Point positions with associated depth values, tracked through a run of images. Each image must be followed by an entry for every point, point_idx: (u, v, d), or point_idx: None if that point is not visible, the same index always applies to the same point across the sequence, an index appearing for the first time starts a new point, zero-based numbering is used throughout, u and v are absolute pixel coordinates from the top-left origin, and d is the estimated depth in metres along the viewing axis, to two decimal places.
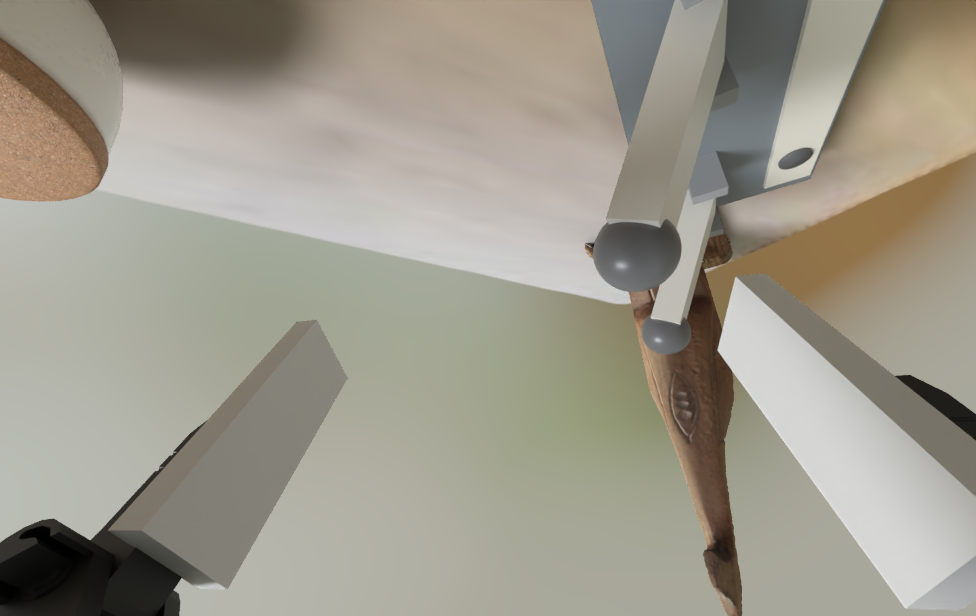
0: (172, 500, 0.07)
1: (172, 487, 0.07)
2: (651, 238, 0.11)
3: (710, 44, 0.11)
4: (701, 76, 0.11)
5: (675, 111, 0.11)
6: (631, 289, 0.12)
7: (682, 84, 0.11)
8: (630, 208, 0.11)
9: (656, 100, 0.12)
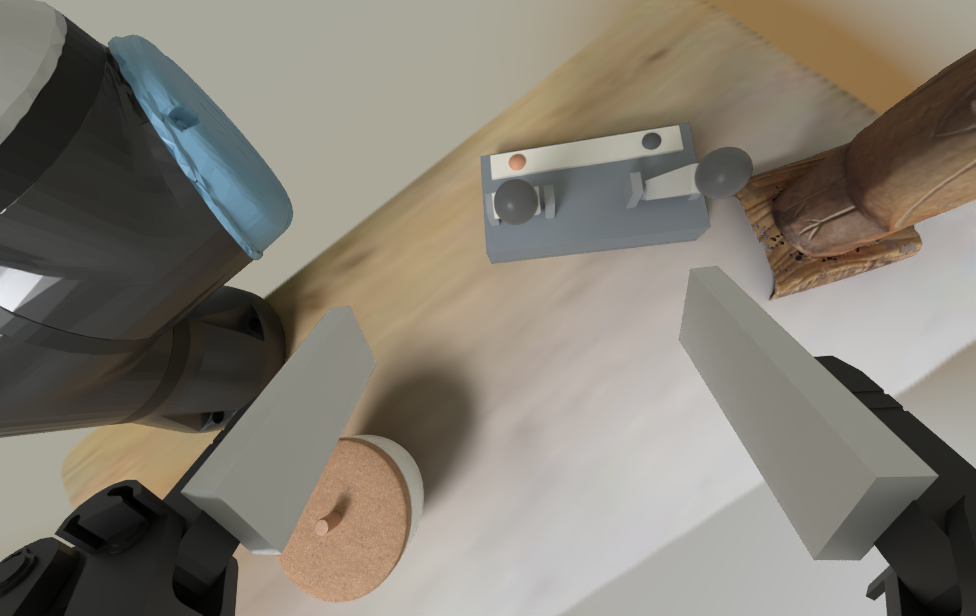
0: (236, 466, 0.07)
1: (235, 454, 0.07)
2: None
3: None
4: None
5: None
6: (513, 196, 0.21)
7: None
8: (494, 208, 0.23)
9: None
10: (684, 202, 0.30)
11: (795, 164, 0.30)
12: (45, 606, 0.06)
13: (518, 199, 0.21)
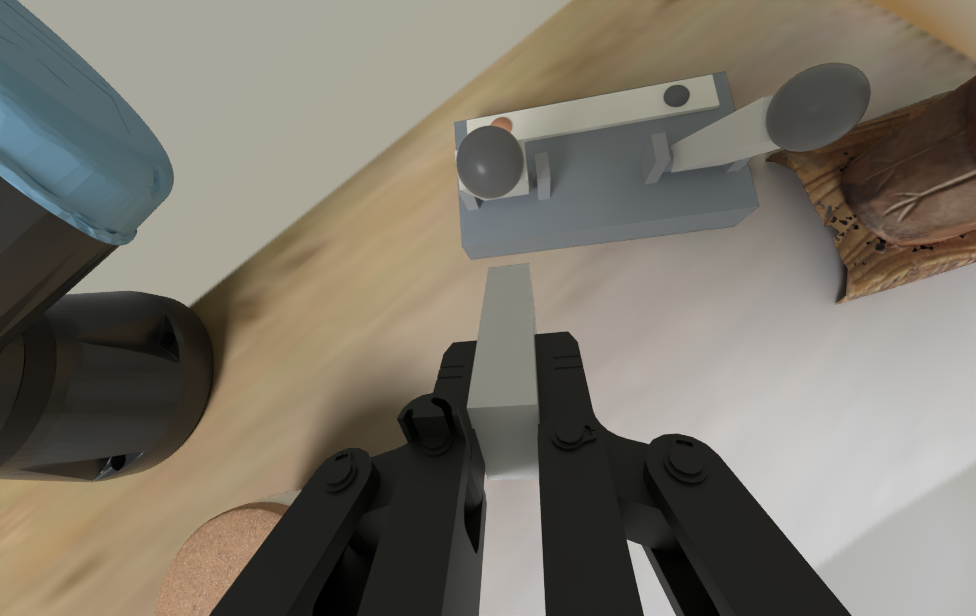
0: None
1: (496, 379, 0.08)
2: None
3: None
4: None
5: None
6: (484, 150, 0.13)
7: None
8: (459, 174, 0.15)
9: None
10: (722, 175, 0.22)
11: (868, 123, 0.22)
12: (356, 522, 0.06)
13: (491, 154, 0.13)
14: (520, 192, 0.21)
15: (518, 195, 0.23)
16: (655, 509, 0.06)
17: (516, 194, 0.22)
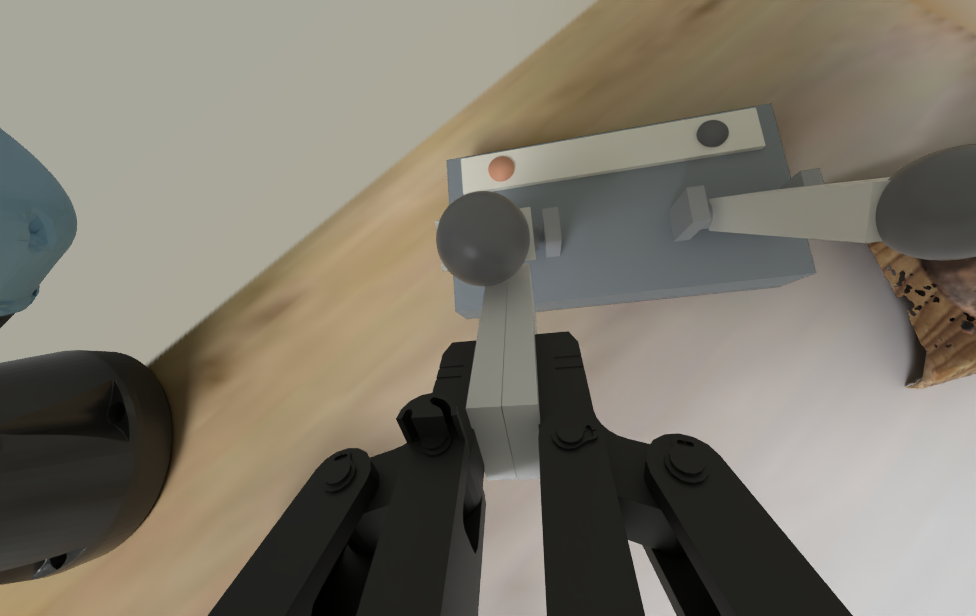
0: None
1: (495, 379, 0.08)
2: None
3: None
4: None
5: None
6: (473, 229, 0.09)
7: None
8: None
9: None
10: None
11: None
12: (355, 522, 0.06)
13: (484, 235, 0.09)
14: None
15: None
16: (656, 509, 0.06)
17: None
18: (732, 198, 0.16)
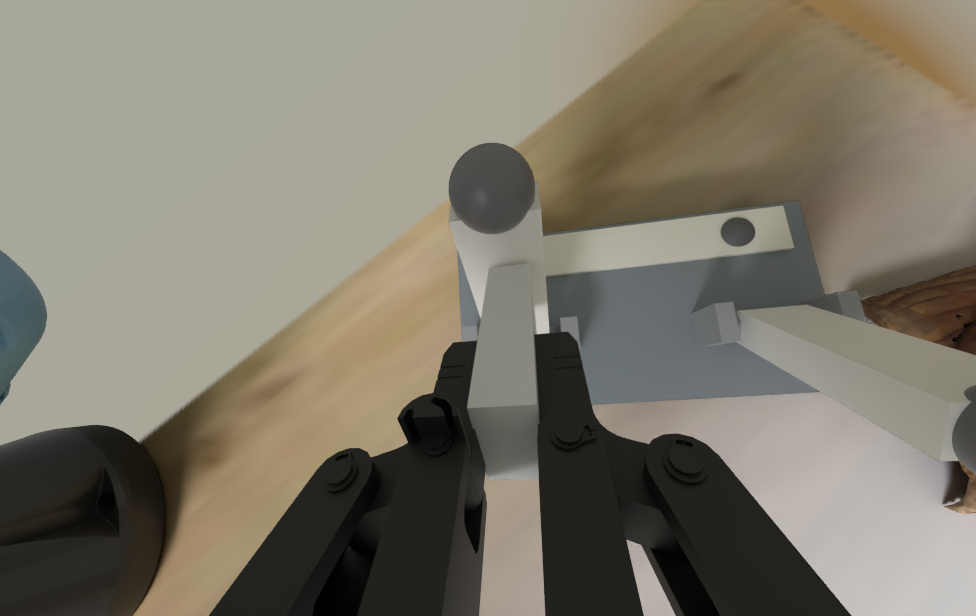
0: None
1: (496, 379, 0.08)
2: None
3: None
4: None
5: None
6: (482, 145, 0.10)
7: None
8: None
9: None
10: None
11: None
12: (357, 522, 0.06)
13: (491, 147, 0.10)
14: (537, 325, 0.16)
15: None
16: (654, 508, 0.06)
17: None
18: (766, 325, 0.15)
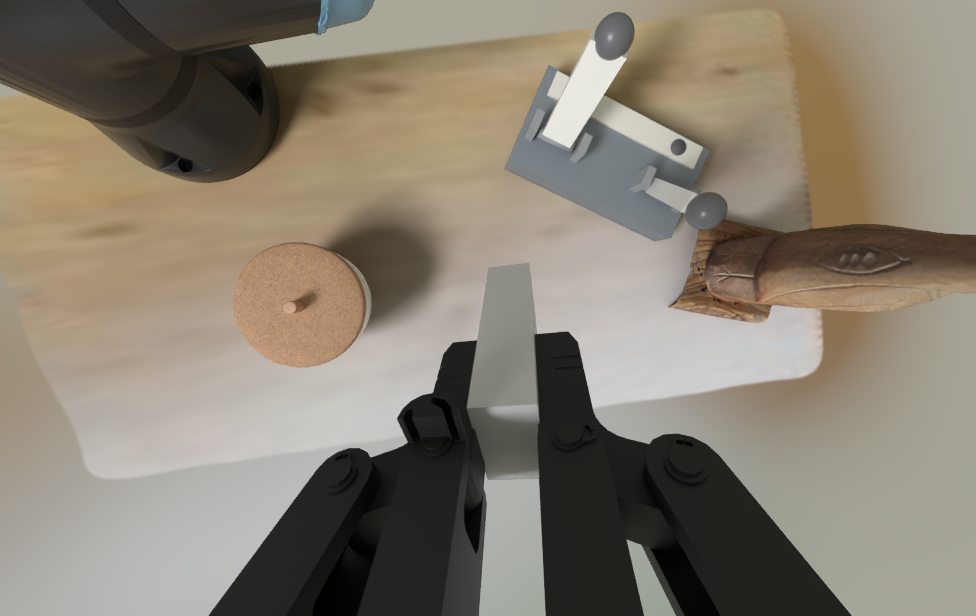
0: None
1: (496, 379, 0.08)
2: None
3: (557, 101, 0.32)
4: (563, 90, 0.30)
5: (568, 79, 0.29)
6: (625, 14, 0.24)
7: (563, 90, 0.30)
8: (589, 39, 0.26)
9: (564, 90, 0.29)
10: (667, 210, 0.37)
11: (746, 226, 0.39)
12: (356, 522, 0.06)
13: (628, 17, 0.24)
14: (577, 126, 0.31)
15: (564, 144, 0.33)
16: (655, 509, 0.06)
17: (569, 134, 0.32)
18: (662, 181, 0.33)
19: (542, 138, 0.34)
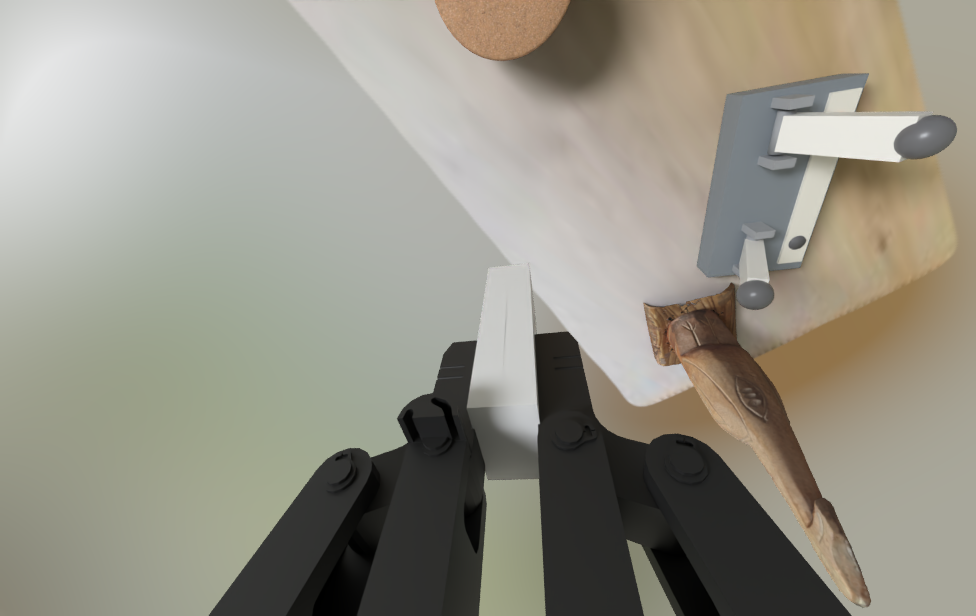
0: None
1: (496, 379, 0.08)
2: None
3: (827, 112, 0.29)
4: (843, 113, 0.28)
5: (860, 113, 0.27)
6: (954, 137, 0.23)
7: (844, 113, 0.28)
8: (917, 114, 0.24)
9: (846, 114, 0.28)
10: (732, 263, 0.41)
11: (734, 322, 0.46)
12: (356, 522, 0.06)
13: (950, 142, 0.23)
14: (804, 148, 0.30)
15: (777, 143, 0.32)
16: (655, 508, 0.06)
17: (791, 143, 0.31)
18: (763, 247, 0.36)
19: (778, 118, 0.32)
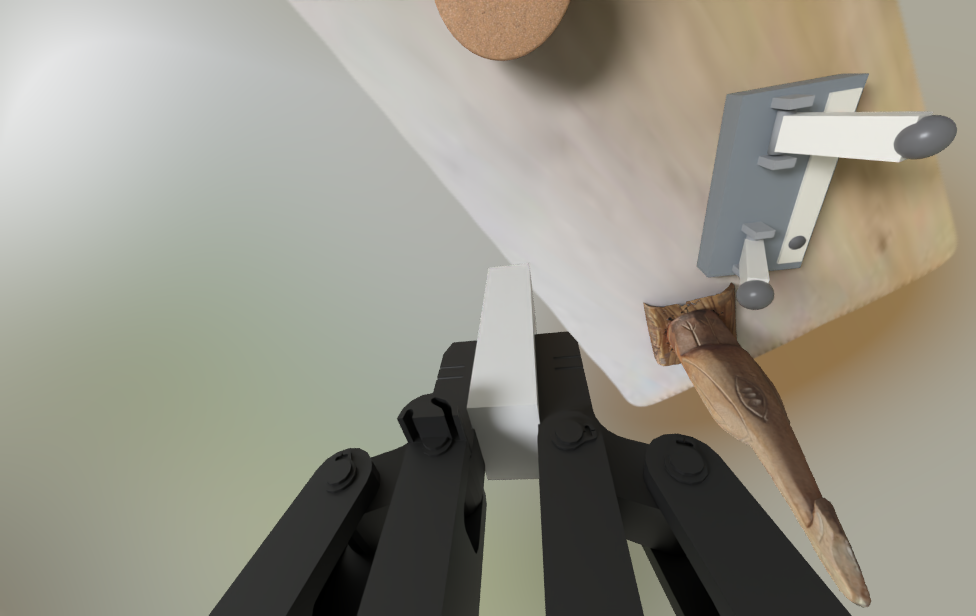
0: None
1: (496, 379, 0.08)
2: None
3: (827, 112, 0.29)
4: (843, 113, 0.28)
5: (860, 113, 0.27)
6: (954, 137, 0.23)
7: (844, 113, 0.28)
8: (917, 114, 0.24)
9: (846, 114, 0.28)
10: (732, 263, 0.41)
11: (734, 322, 0.46)
12: (356, 522, 0.06)
13: (950, 142, 0.23)
14: (804, 148, 0.30)
15: (777, 143, 0.32)
16: (655, 508, 0.06)
17: (791, 143, 0.31)
18: (763, 247, 0.36)
19: (778, 118, 0.32)
